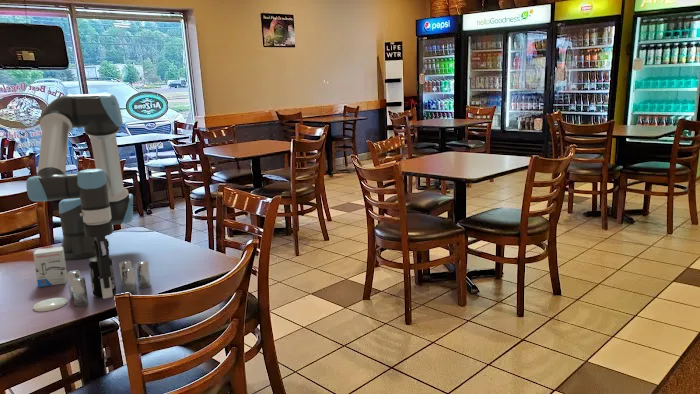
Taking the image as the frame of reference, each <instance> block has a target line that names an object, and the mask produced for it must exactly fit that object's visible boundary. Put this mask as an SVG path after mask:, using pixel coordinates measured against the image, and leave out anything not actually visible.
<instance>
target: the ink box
mask: <svg viewBox="0 0 700 394" xmlns="http://www.w3.org/2000/svg"><path fill="white" fill-rule="evenodd" d="M33 261H34V267H35V269H34V270H35V276H36V282H37V287H38V288H43V287H50V286H56V285H64V284H66V283H67V282H68V276H67V273H68V271H67V264H66V259H65V256H64V248H63V247H61V246H56V247H47V248H38V249H35V250H34V251H33Z"/></svg>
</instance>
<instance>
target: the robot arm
mask: <svg viewBox="0 0 700 394" xmlns="http://www.w3.org/2000/svg"><path fill="white" fill-rule="evenodd" d="M39 121H40V122H39V127H40V129H41V131H42V133H41V140H40V148H39V156H38V162H37V163H38V166H37V170H36V171H37V174H36V175H33V176H30V177H28V178H27V180H26V184H25V185H26V186H25V187H26V192H27V197H28V199H29V200H30V201H32V202H52V201H59V200H60V201H59V203H58V214H59V218H60V226H61V230H62V231H61V232H62V242H61V246H60V247H63V248H64V256H65V260H82V259H88V258H93V257H96V258H97V265H98V272H99V275H100V276H99V277H98V279H100V282H101V289H102V296H103V297H102V298H103V300H104V299H109V298H113V297H114V294H113V293H112V285H111V278H110V277H111V274H112V273H111V271H110V261H109V256H110V248H109V247H110V243H109V240H108V239H107V238H106V237H107V236H110V235H113V233H114V229H113V225H114V226H115V225H123V224H128V223H131V222H132V221H133V217H134V216H133V215H134V195H133V193H129V190H128V188H125V187H124V182H123V181H124V180H123V175H122V174H123V173H122V168H121V161H120V154H119V149H118V148H119V147H118V142H117V136H116V135H117V133H118V132H119V131H120V127H121V126H123V117H122V111H121V107H120V104H119V101H118V99H117V97H116V96H115V95H114V94H112V93H102V92H101V93H85V94H83V93H81V94H79V93H78V94H73V93H72V94H71V93H69V94H65V95H64V94H63V95H61V96H60V97H57V98H56V99H54V100H52V101H51V102H50V103H49V104H48V105H47V106H46V107H45V108H44V110H43V111H42V113H41V116H40V119H39ZM75 128H77V129H79V128H81V129H82V128H83V129H84V133H85V134H86V135H87V136H89V137H90V144H91V149H92V155H93V160H94V166H95V168H89V169H82V170H79V171H78V172H77V173H66V172H67V159H68V143H69V134H70V133H71V132H72V130H73V129H75Z"/></svg>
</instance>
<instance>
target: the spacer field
mask: <svg viewBox="0 0 700 394" xmlns="http://www.w3.org/2000/svg"><path fill="white" fill-rule="evenodd" d="M118 265H119V274H120V282H121V287H122V288H123V290H124V291H123V292H124V293H125V292H130V293H131V294H132V295H131V296H134V295H136V294H137V293H138V290H137V284H138V288H139V289H146V287H147V288H149V287H151V276H150V268H149V262H148V261H147V260H143V261H142V260H141V261H138V262H136V263H135V266H136V272H135V268H134V267H132V261H131V260H123V261H119V262H118ZM135 273H137V274H135ZM136 275H137V281H136ZM67 278H68V279H67V282H68V289H69V295H70V299H73V300H74V306H75V307H76V308H77V307H78V308H79V307H85V306H87V305H89V297H88V292H87V291H88V290H87V284H86V278H85V277H83V276H81V270H78V269H76V270H75V269H74V270H70V271H67ZM137 282H138V283H137Z"/></svg>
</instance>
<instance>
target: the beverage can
mask: <svg viewBox="0 0 700 394" xmlns="http://www.w3.org/2000/svg"><path fill="white" fill-rule="evenodd" d="M110 257H111V256H110V255H109V261H110V271H111V273H112V274H111V277H110V278H111V285H112V293H113V295H114V294H115V292H116V291H117V288H116V287H117V286H116V281H115V273H114V266H113V261H112V259H111V258H110ZM88 268H89V276H90V282H91V288H92V295H93V296H94V297H96V298H99V299H101V298H103V296H102V289H101V282H100V279H98V277H99V276H100V275H99V272H98V265H97V258H96V256H92V257H90V258H89V263H88Z"/></svg>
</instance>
